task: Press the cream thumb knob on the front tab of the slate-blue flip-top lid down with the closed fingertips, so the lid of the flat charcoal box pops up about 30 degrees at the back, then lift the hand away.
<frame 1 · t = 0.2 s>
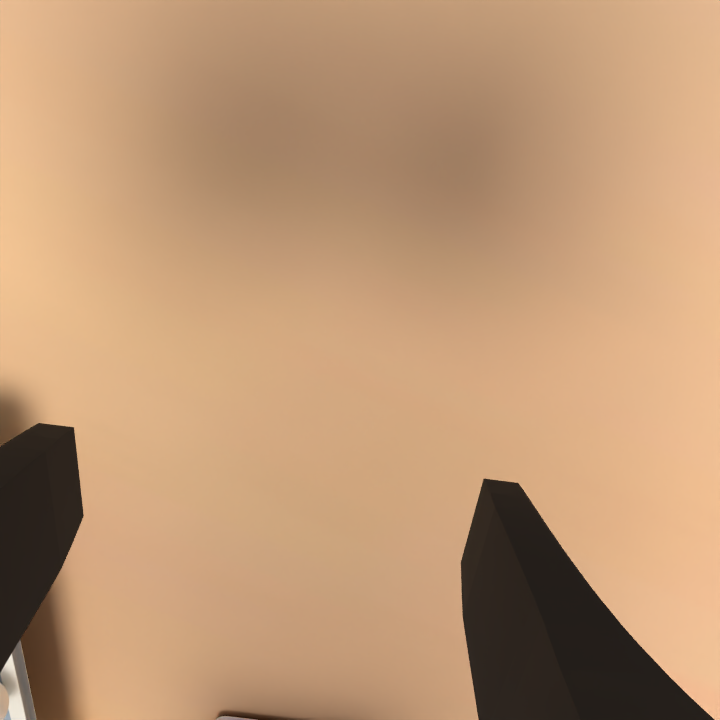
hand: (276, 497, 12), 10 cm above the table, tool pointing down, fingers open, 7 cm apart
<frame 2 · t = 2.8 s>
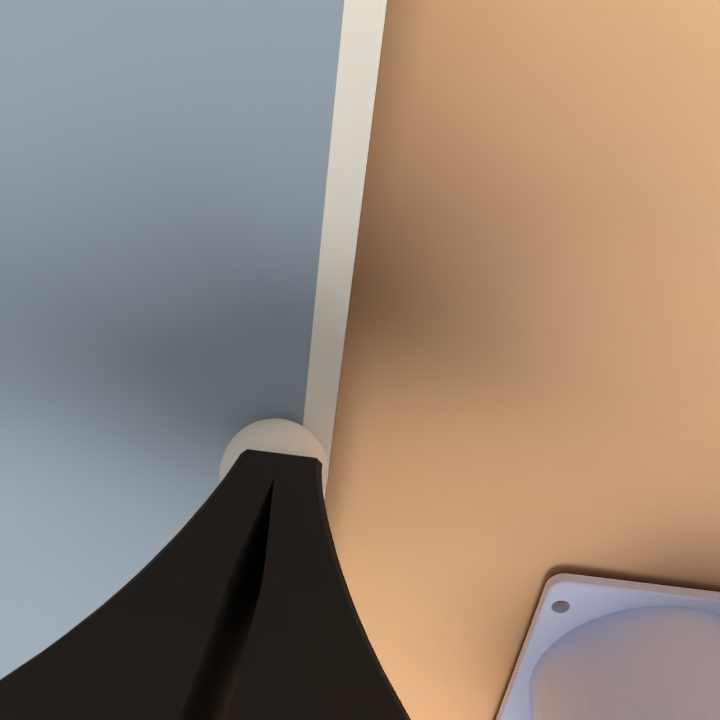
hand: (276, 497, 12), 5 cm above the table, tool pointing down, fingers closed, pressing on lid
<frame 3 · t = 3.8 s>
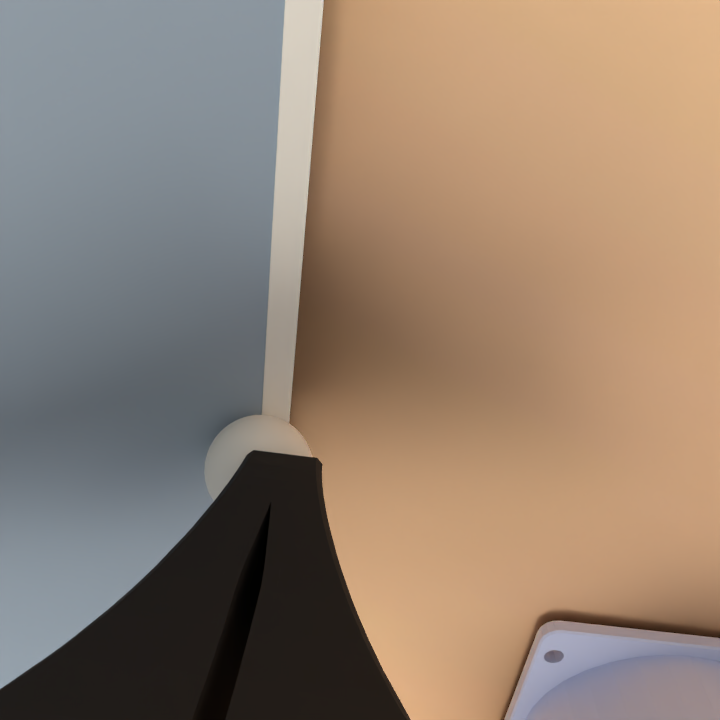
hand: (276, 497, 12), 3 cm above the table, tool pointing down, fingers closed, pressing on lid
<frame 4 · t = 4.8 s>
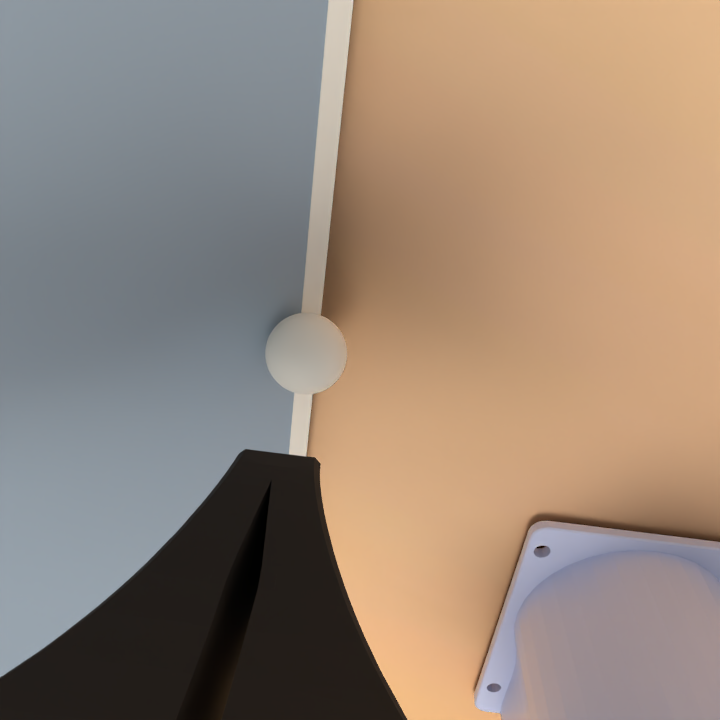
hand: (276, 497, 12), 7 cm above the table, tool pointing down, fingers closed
lid: (46, 405, 13), point 6 cm above the table, hinge at 38.0°
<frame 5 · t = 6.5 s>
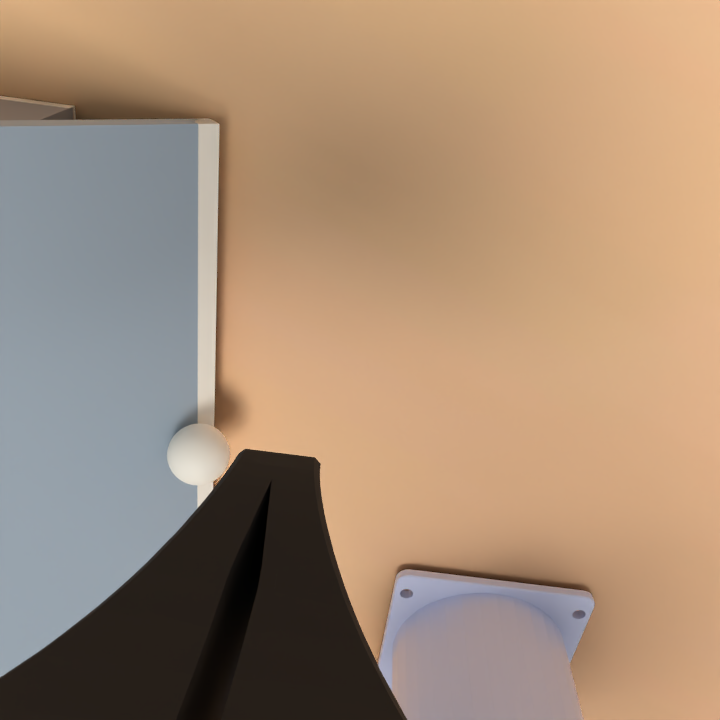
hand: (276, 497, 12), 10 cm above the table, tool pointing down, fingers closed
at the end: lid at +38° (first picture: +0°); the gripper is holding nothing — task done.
